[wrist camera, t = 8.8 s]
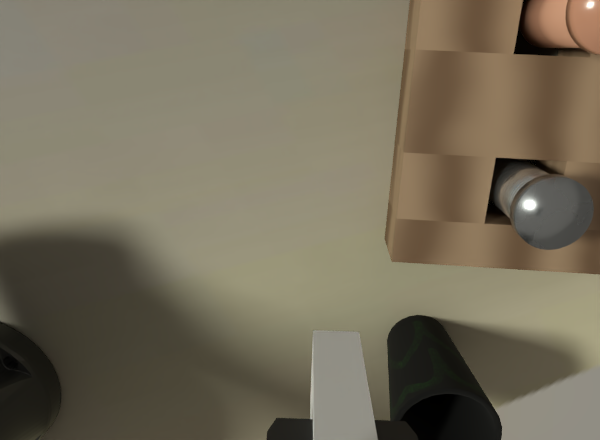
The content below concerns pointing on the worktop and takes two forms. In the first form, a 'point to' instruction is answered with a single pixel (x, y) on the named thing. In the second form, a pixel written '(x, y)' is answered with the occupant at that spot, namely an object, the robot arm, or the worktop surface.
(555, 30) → the terracotta plug
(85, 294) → the worktop surface
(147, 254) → the worktop surface
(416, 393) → the cup
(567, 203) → the grey plug
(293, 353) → the worktop surface
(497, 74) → the block
